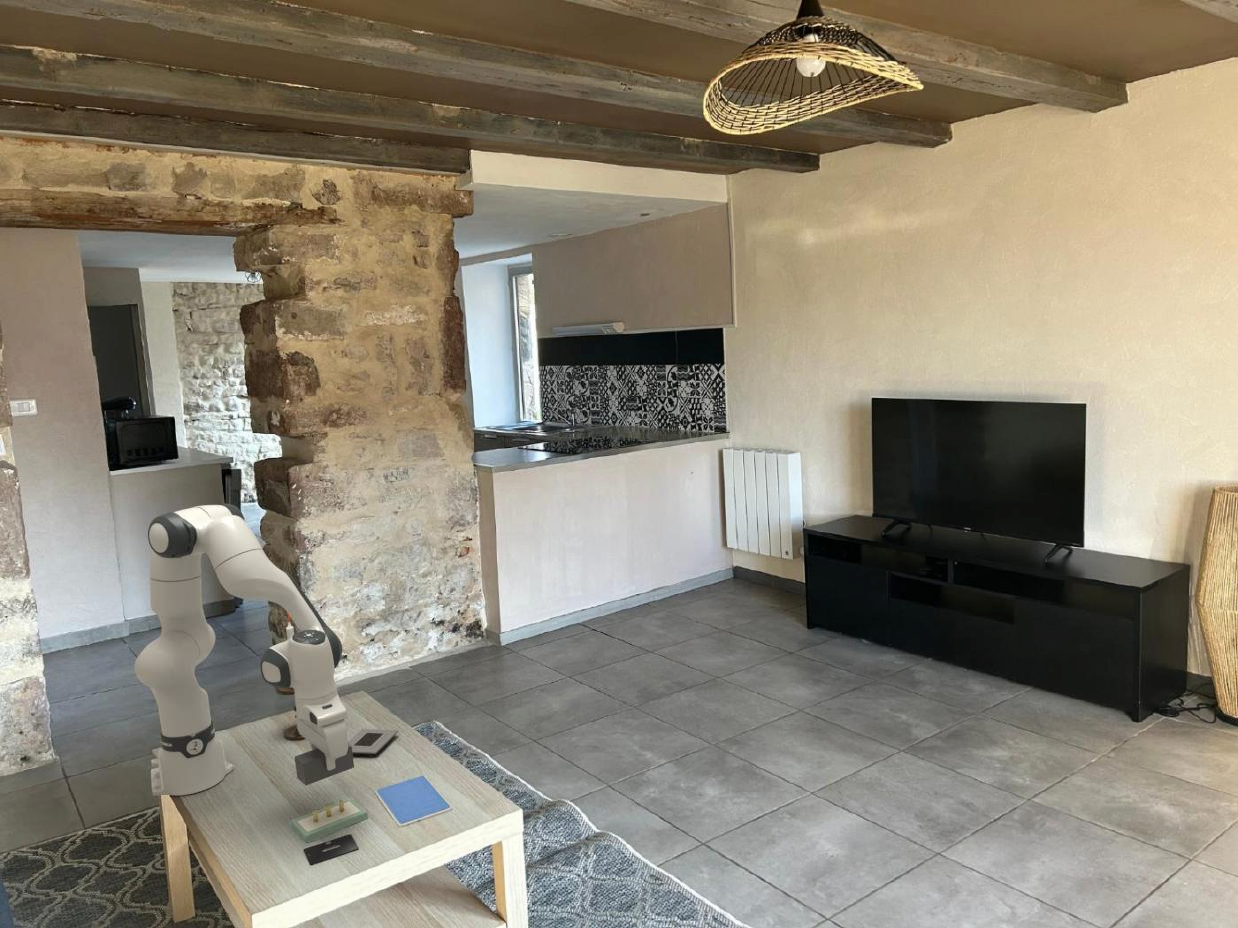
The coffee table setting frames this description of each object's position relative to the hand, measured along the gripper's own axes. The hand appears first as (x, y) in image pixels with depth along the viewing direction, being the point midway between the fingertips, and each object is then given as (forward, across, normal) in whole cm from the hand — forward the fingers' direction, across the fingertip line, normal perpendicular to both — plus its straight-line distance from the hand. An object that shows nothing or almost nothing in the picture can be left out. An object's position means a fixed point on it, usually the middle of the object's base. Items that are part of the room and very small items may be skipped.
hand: (324, 763), depth 198 cm
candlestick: (+14, -52, +13) cm, 55 cm away
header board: (+14, 0, 0) cm, 14 cm away
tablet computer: (+15, +5, +17) cm, 23 cm away
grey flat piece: (+14, -30, +23) cm, 40 cm away
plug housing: (+2, 0, 0) cm, 2 cm away
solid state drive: (+14, +11, -5) cm, 19 cm away
